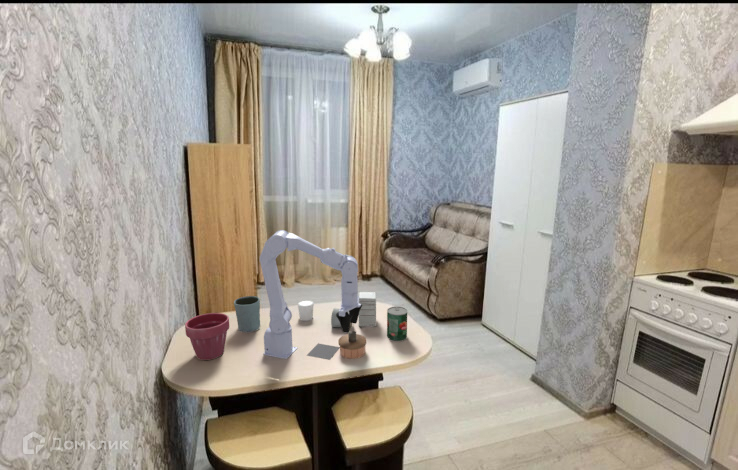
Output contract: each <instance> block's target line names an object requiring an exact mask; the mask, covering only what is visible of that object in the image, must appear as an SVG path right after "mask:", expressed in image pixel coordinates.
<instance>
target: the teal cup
mask: <svg viewBox="0 0 738 470" xmlns="http://www.w3.org/2000/svg"><path fill="white" fill-rule="evenodd" d="M260 301H261V299H260V297H258V296H254V295H249V296H248V295H247V296H243V297H242V296H241V297H239V298H237V299H234V301H233V305H234V310H235V316H236V320H237V321H236V322H237V328H238V331H239V332H242V333H252V332H255V331H258V330H259V329H260V327H261V313H260V312H261V309H260V308H261V302H260Z"/></svg>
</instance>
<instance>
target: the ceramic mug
mask: <svg viewBox="0 0 738 470" xmlns="http://www.w3.org/2000/svg"><path fill="white" fill-rule="evenodd" d="M339 310H340V308H336V307H334V308H333V309H332V311H331V316H330V318H331V319H330V325H331V327H332V328H341V324H340V322H339V320H338V318H337V317H336V313H337V312H339ZM347 312H348V313H349V311H347ZM352 325H353V323H351V322H350V328H351V327H352Z"/></svg>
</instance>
